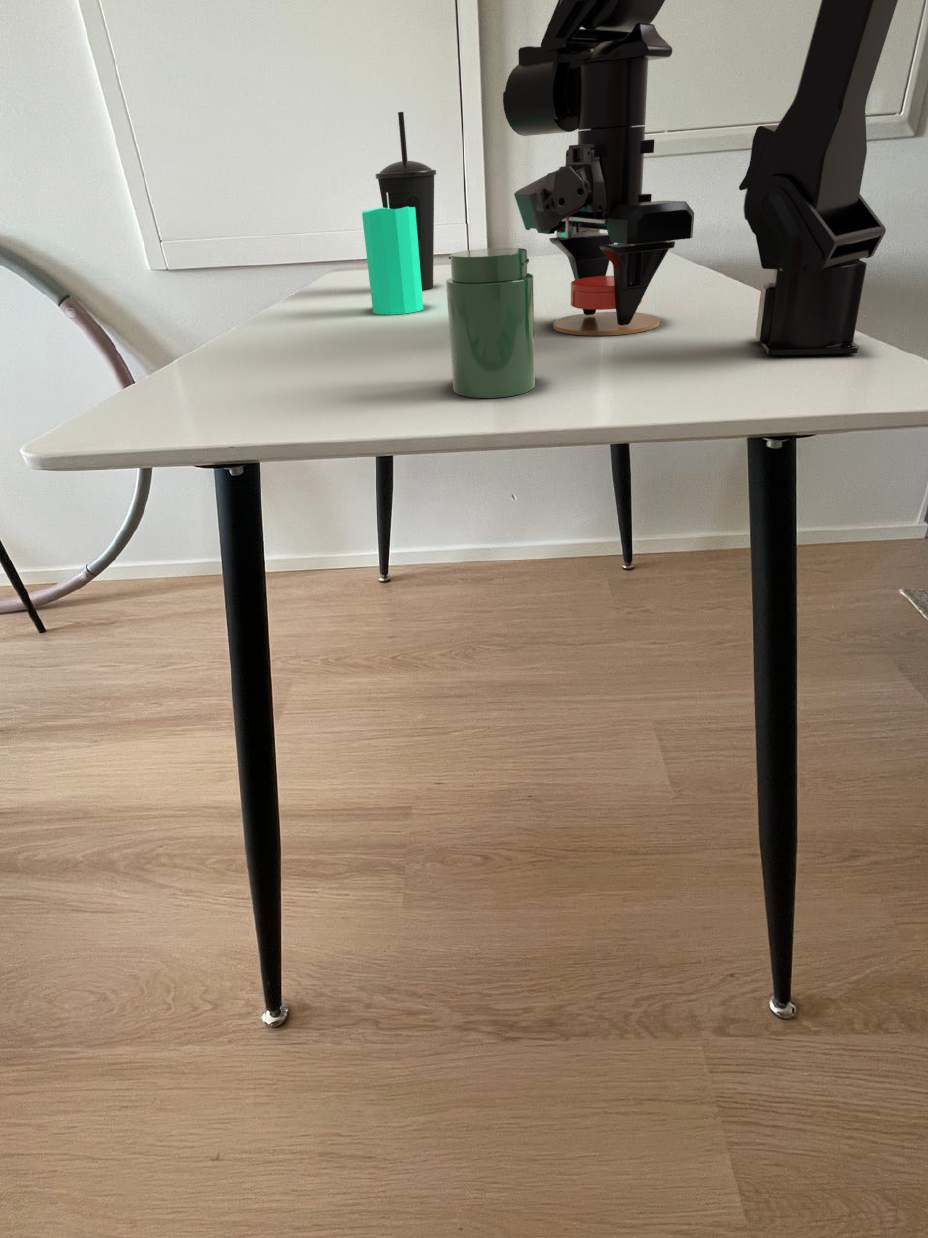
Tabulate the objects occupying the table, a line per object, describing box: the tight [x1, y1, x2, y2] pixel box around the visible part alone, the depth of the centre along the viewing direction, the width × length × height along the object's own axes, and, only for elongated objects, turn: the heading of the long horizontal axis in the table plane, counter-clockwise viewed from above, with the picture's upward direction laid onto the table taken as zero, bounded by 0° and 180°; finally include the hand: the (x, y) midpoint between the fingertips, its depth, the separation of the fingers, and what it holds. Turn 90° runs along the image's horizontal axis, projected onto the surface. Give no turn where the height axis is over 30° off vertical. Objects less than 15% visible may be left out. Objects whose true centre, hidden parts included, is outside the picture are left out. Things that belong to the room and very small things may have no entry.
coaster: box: [553, 311, 660, 337], centre depth 76 cm, size 10×10×1 cm
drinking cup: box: [375, 111, 437, 291], centre depth 101 cm, size 8×8×20 cm
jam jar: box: [445, 247, 536, 399], centre depth 56 cm, size 6×6×9 cm
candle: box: [361, 192, 424, 316], centre depth 89 cm, size 6×6×12 cm
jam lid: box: [570, 275, 643, 311], centre depth 75 cm, size 7×7×2 cm
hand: (605, 319), depth 76 cm, fingers closed on jam lid, 6 cm apart
